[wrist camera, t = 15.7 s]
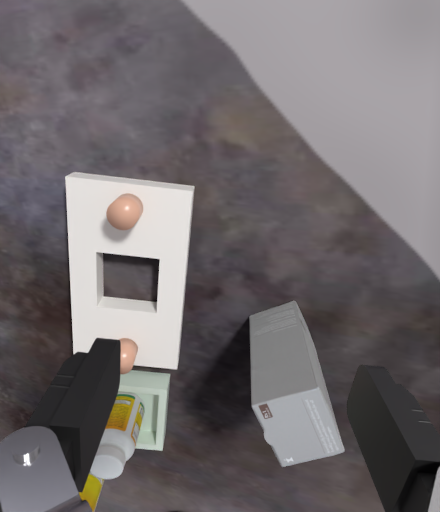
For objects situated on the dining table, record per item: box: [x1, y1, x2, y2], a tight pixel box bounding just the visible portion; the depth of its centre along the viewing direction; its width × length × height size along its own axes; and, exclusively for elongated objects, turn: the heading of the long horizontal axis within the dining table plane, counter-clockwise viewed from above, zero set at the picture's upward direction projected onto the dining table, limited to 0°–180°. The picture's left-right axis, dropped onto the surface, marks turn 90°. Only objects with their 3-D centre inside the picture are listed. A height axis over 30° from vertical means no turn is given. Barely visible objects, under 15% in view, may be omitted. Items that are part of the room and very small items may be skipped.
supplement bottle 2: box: [90, 392, 145, 479], centre depth 47 cm, size 5×5×10 cm
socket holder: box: [65, 172, 195, 374], centre depth 42 cm, size 13×23×6 cm, turn 173°
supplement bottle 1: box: [78, 471, 104, 512], centre depth 53 cm, size 6×6×10 cm
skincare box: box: [249, 301, 345, 467], centre depth 40 cm, size 8×7×16 cm
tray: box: [118, 370, 170, 451], centre depth 51 cm, size 11×11×3 cm
